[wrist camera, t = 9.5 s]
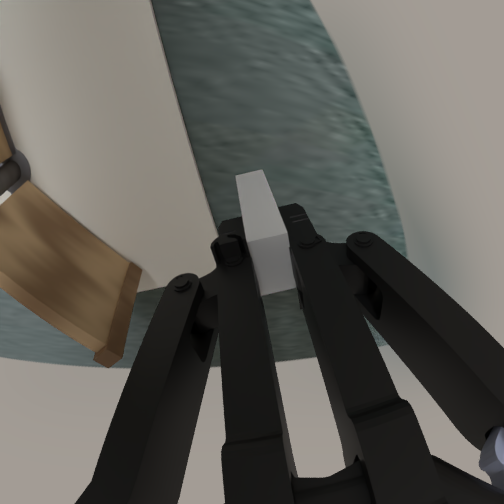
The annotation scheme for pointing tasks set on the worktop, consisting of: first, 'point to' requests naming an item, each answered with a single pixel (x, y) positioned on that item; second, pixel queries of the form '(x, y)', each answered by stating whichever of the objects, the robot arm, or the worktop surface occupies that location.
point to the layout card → (104, 130)
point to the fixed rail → (7, 166)
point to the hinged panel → (66, 273)
